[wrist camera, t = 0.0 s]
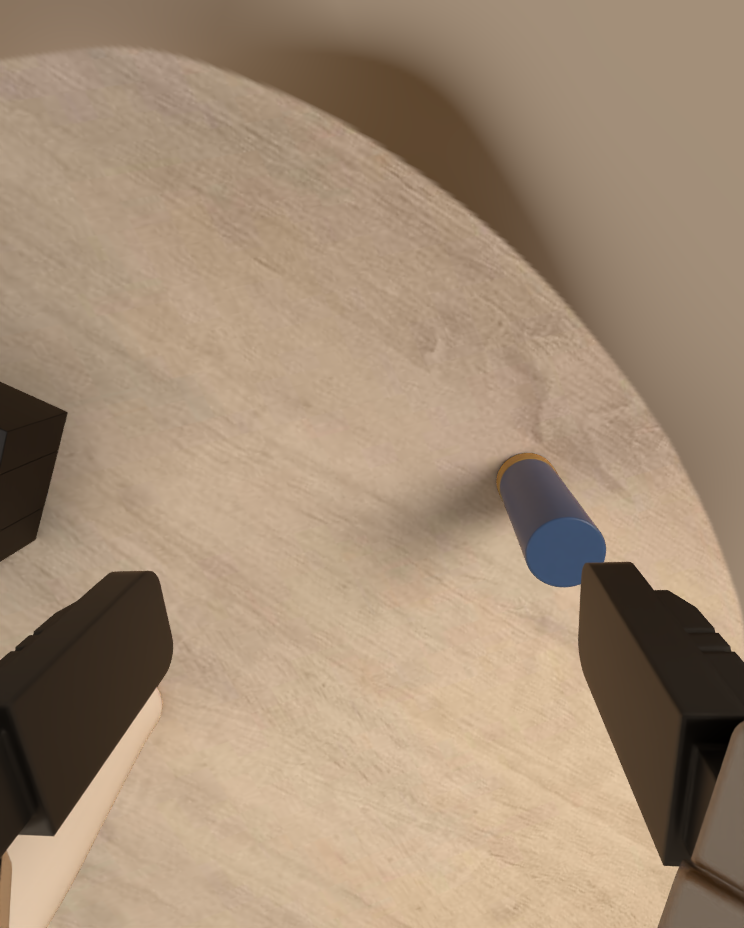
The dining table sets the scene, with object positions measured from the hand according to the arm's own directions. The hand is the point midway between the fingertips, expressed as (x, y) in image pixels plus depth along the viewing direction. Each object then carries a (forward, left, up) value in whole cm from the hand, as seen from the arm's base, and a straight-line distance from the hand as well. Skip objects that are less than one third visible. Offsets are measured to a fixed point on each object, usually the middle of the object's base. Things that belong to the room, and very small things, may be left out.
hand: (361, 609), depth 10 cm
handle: (+1, +8, -19) cm, 20 cm away
